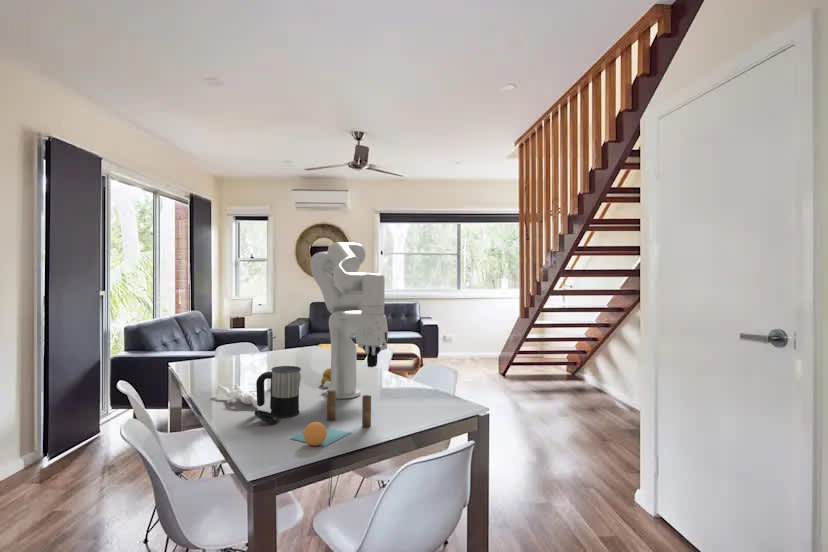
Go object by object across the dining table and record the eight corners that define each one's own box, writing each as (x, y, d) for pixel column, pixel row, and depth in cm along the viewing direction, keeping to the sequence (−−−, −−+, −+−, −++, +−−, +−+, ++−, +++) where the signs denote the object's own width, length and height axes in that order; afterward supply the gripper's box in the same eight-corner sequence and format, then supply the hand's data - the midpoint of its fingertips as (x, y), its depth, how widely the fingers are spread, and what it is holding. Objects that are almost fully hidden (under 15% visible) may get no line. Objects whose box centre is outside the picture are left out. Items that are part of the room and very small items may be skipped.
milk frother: (298, 408, 155) (299, 364, 155) (303, 423, 140) (304, 374, 140) (254, 412, 150) (254, 367, 150) (254, 427, 135) (254, 377, 135)
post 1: (325, 420, 143) (325, 391, 143) (330, 417, 145) (330, 389, 145) (332, 421, 142) (332, 392, 142) (337, 419, 144) (337, 390, 144)
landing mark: (289, 438, 126) (289, 438, 126) (318, 426, 137) (318, 425, 137) (324, 446, 121) (324, 446, 121) (351, 433, 132) (351, 432, 132)
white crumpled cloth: (211, 401, 168) (242, 417, 150) (209, 385, 167) (241, 400, 150) (241, 391, 176) (275, 406, 158) (240, 376, 175) (273, 390, 158)
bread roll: (326, 389, 182) (326, 368, 182) (314, 384, 190) (314, 365, 190) (353, 384, 191) (354, 365, 191) (341, 380, 198) (341, 361, 198)
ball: (295, 433, 120) (307, 416, 125) (304, 449, 122) (315, 432, 127) (314, 435, 117) (326, 417, 122) (322, 451, 120) (333, 433, 125)
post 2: (360, 427, 137) (360, 396, 137) (365, 424, 139) (365, 394, 139) (367, 428, 136) (368, 398, 136) (372, 426, 138) (372, 396, 138)
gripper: (347, 310, 152) (346, 366, 152) (386, 312, 145) (385, 370, 145) (360, 309, 159) (359, 362, 159) (398, 311, 152) (397, 366, 152)
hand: (372, 366), depth 152 cm, fingers closed
